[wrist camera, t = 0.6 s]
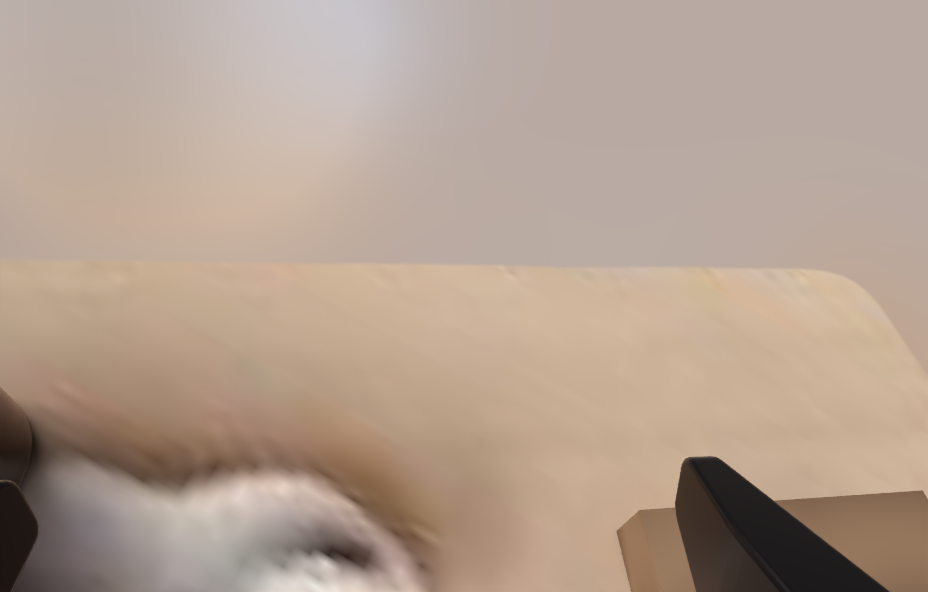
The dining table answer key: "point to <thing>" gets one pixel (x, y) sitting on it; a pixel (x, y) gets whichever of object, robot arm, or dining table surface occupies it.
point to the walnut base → (832, 518)
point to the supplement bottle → (13, 440)
